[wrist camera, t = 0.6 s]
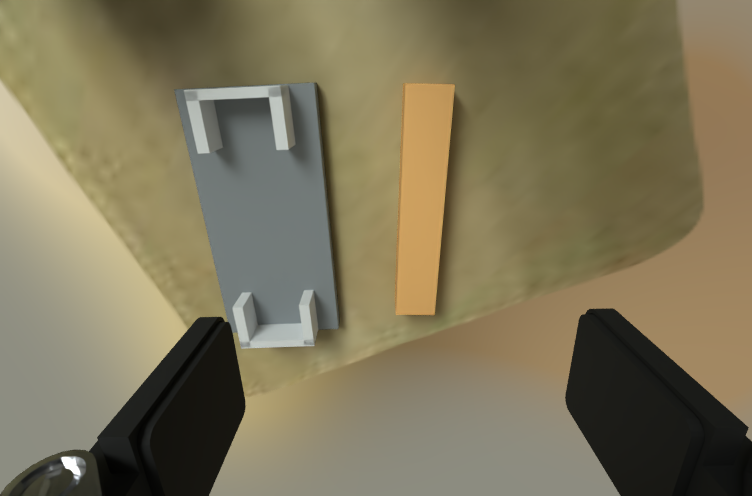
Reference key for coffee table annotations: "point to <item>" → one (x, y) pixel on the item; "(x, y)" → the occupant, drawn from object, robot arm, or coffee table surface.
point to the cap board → (265, 208)
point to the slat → (422, 194)
